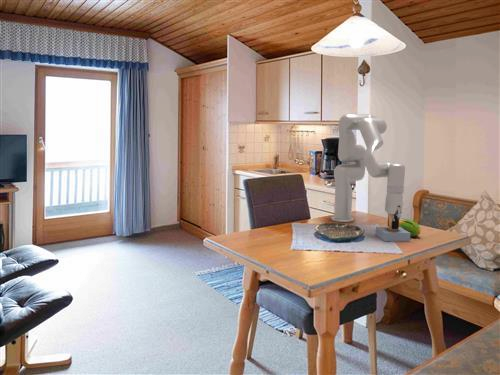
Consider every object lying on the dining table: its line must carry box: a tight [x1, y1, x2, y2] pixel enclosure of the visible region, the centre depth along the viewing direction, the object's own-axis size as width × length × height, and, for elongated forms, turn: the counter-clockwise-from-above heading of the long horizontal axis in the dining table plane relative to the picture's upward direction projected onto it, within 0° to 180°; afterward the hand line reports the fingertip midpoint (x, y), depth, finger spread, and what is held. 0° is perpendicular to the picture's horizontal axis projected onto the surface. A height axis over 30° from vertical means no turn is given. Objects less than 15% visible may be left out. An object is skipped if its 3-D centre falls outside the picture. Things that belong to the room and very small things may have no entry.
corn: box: [399, 218, 422, 238], centre depth 212 cm, size 7×8×20 cm
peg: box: [387, 213, 397, 232], centre depth 202 cm, size 4×4×12 cm
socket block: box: [375, 226, 411, 243], centre depth 203 cm, size 12×12×4 cm
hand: (393, 227), depth 203 cm, fingers closed on peg, 4 cm apart
